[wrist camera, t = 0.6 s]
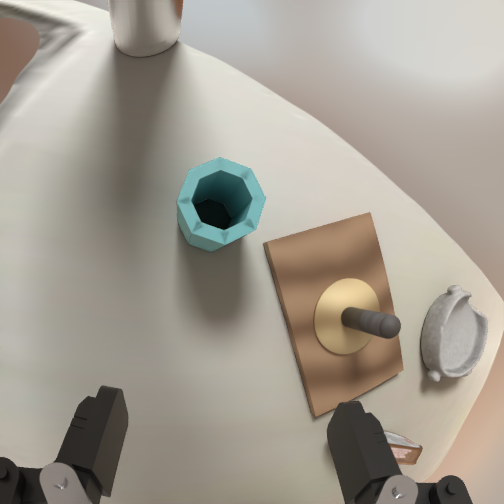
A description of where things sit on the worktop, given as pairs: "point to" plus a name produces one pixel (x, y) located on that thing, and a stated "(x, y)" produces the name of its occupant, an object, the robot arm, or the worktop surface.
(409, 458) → the tin
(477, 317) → the dish
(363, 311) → the post stand
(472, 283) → the worktop surface
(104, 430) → the robot arm
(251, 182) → the collar
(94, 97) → the worktop surface
